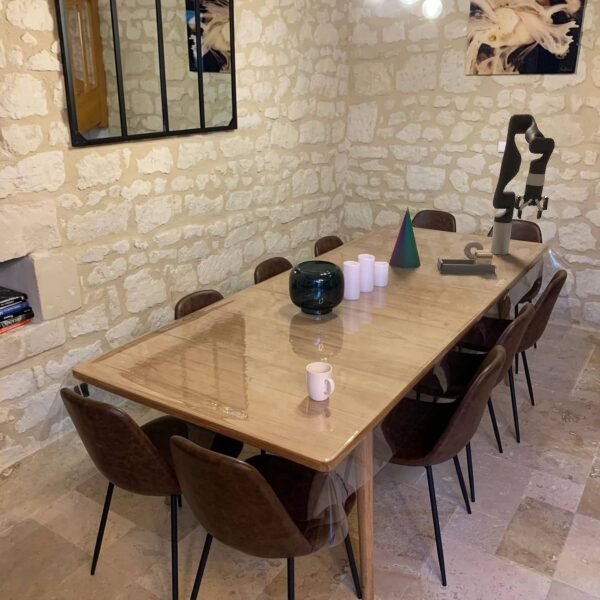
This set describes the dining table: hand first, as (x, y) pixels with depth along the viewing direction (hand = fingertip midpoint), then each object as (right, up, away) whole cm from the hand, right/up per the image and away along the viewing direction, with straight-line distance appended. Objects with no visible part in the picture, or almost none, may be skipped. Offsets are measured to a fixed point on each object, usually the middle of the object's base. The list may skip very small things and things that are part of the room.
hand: (528, 218), depth 269 cm
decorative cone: (-51, -19, +32) cm, 63 cm away
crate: (-15, -22, +20) cm, 33 cm away
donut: (-14, -16, +38) cm, 44 cm away
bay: (-23, -22, +21) cm, 38 cm away
